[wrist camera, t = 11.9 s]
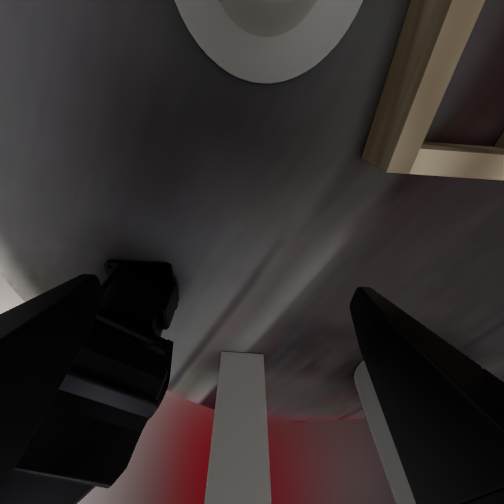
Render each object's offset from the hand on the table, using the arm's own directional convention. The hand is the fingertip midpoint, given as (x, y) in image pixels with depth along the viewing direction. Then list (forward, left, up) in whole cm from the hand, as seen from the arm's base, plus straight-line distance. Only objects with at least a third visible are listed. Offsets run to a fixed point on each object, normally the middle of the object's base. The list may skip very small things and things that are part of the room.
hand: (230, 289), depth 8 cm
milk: (+1, -27, -13) cm, 30 cm away
